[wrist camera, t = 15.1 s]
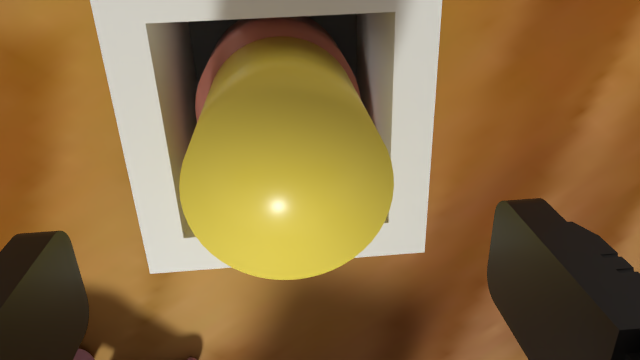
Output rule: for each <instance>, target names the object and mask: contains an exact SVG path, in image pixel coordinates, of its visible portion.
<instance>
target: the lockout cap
mask: <svg viewBox="0 0 640 360" xmlns="http://www.w3.org/2000/svg"><path fill="white" fill-rule="evenodd" d="M393 190H394V173H393V168H392V162H391V159H390V156H389V153H388V150H387V148H386V146H385V144H384V142H383V140H382V138H381V136H380V134H379V133H378V131H377V129H376V127H375V125H374V123H373V121H372V120H371V118H370V116H369V114H368V112H367V110H366V108H365V107H364V105H363V103H362V101H361V99H360V97H359V95H358V93H357V92H356V90H355V88H354V86H353V84H352V82H351V80H350V79H349V77H348V75H347V73H346V71H345V70H344V68H343V67H342V66H341V64H340V63H339V62H338V61H337V60H336V59H335V58H334V57H333V56H332V55H331V54H330V53H329V52H327V51H326V50H325V49H323V48H321V47H320V46H318V45H316V44H314V43H312V42H309V41H307V40H303V39H300V38H295V37H289V36H275V37H267V38H263V39H259V40H256V41H254V42H251V43H249V44H247V45H245V46H243V47H242V48H240V49H238V50H237V51H236V52H234V53H233V54H232V55H231V56H230V57H229V58H228V59H227V60H226V61H225V62H224V63H223V65H222V66H221V67H220V69H219V70H218V72H217V74H216V75H215V77H214V79H213V82H212V85H211V87H210V90H209V93H208V95H207V98H206V101H205V103H204V106H203V109H202V111H201V114H200V117H199V119H198V122H197V125H196V127H195V130H194V133H193V135H192V138H191V141H190V143H189V146H188V149H187V151H186V154H185V157H184V160H183V162H182V167H181V172H180V181H179V192H180V201H181V205H182V209H183V213H184V215H185V218H186V220H187V223H188V225H189V227H190V228H191V230H192V232H193V233H194V235H195V236H196V238H197V239H198V240H199V241H200V243H201V244H202V245H203V246H204V247H205V248H206V249H207V250H208V251H209V252H210V253H211V254H212V255H214V256H215V257H216V258H218V259H219V260H220V261H222V262H223V263H225V264H227V265H229V266H230V267H232V268H234V269H236V270H239V271H241V272H243V273H246V274H250V275H253V276H256V277H261V278H267V279H276V280H295V279H302V278H309V277H313V276H317V275H320V274H323V273H326V272H329V271H332V270H334V269H336V268H338V267H340V266H342V265H344V264H345V263H347V262H348V261H350V260H351V259H353V258H354V257H355V256H357V255H358V254H359V253H360V252H362V251H363V250H364V249H365V248H366V247H367V246H368V245H369V244H370V243H371V242H372V240H373V239H374V238H375V236H376V235H377V234H378V232H379V231H380V229H381V227H382V226H383V224H384V222H385V220H386V218H387V215H388V213H389V210H390V207H391V203H392V199H393Z"/></svg>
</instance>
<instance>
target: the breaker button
mask: <svg viewBox="0 0 640 360" xmlns="http://www.w3.org/2000/svg"><path fill="white" fill-rule="evenodd" d="M275 36H289V37H295V38H300V39H303V40H307V41H309V42H312V43H314V44H316V45H318V46H320V47H321V48H323V49H325V50H326V51H327V52H329V53H330V54H331V55H332V56H333V57H334V58H335V59H336V60H337V61H338V62H339V63H340V64H341V66H342V67H343V68H344V70H345V71H346V73H347V75H348V77H349V79H350V80H351V82H352V84H353V86H354V88H355V90H356V92H357V93H358V95H359V97H360V92H359V87H358V84H357V81H356V78H355V76H354V74H353V72H352V70H351V68H350V66H349V64H348V63H347V61H346V59H345V58H344V56H343V54H342V53H341V51H340V49H339V48H338V46H337V44H336V43H335V41H334V40H333V38H332V37H331V35H330V34H329V33H328V32H327V31H326V30H325V29H324V28H323V27H322V26H321V25H319V24H318V23H317V22H315V21H314V20H312V19H310V18H309V17H307V16H297V17H275V18H254V19H240V20H238V21H237V22H236V23H234V24H233V25H232V26H230V27H229V28H228V29H227V30H226V31H225V33H224V34H223V35H222V36H221V38H220V39H219V40H218V42H217V44H216V46H215V48H214V50H213V52H212V54H211V56H210V58H209V60H208V63H207V65H206V67H205V69H204V71H203V73H202V76H201V78H200V81H199V84H198V88H197V93H196V101H195V111H196V119H197V122H198V119H199V117H200V114H201V111H202V109H203V106H204V103H205V101H206V98H207V95H208V93H209V90H210V87H211V85H212V82H213V79H214V77H215V75H216V74H217V72H218V70H219V69H220V67H221V66H222V65H223V63H224V62H225V61H226V60H227V59H228V58H229V57H230V56H231V55H232V54H233V53H234V52H236V51H237V50H238V49H240V48H242V47H243V46H245V45H247V44H249V43H251V42H254V41H256V40H259V39H263V38H267V37H275ZM360 99H361V97H360Z"/></svg>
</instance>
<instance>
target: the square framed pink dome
mask: <svg viewBox="0 0 640 360" xmlns="http://www.w3.org/2000/svg"><path fill="white" fill-rule="evenodd" d="M90 3H91V7H92V12H93V16H94V21H95V25H96V30H97V34H98V39H99V43H100V48H101V52H102V57H103V62H104V66H105V71H106V75H107V80H108V84H109V89H110V93H111V98H112V102H113V107H114V111H115V116H116V121H117V125H118V130H119V134H120V139H121V143H122V148H123V152H124V157H125V161H126V166H127V171H128V175H129V180H130V184H131V189H132V193H133V198H134V202H135V207H136V211H137V216H138V220H139V225H140V230H141V234H142V239H143V243H144V248H145V252H146V257H147V261H148V266H149V270H150V274H153V273H166V272H179V271H191V270H204V269H217V268H230V266H229V265H227V264H225V263H223V262H222V261H220V260H219V259H218V258H216V257H215V256H214V255H212V254H211V253H210V252H209V251H208V250H207V249H206V248H205V247H204V246H203V245H202V244H201V243H200V241H199V240H198V239H197V238H196V236H195V235H194V233H193V232H192V230H191V228H190V227H189V225H188V223H187V220H186V218H185V215H184V213H183V209H182V205H181V201H180V192H179V181H180V172H181V167H182V162H183V160H184V157H185V154H186V151H187V149H188V146H189V143H190V141H191V138H192V135H193V133H194V130H195V127H196V125H197V119H196V111H195V101H196V93H197V88H198V84H199V81H200V78H201V76H202V73H203V71H204V69H205V67H206V65H207V63H208V60H209V58H210V56H211V54H212V52H213V50H214V48H215V46H216V44H217V42H218V40H219V39H220V38H221V36H222V35H223V34H224V33H225V31H226V30H227V29H228V28H229V27H230V26H232V25H233V24H234V23H236V22H237V21H238V20H240V19H254V18H275V17H297V16H307V17H309V18H310V19H312V20H314V21H315V22H317V23H318V24H319V25H321V26H322V27H323V28H324V29H325V30H326V31H327V32H328V33H329V34H330V35H331V37H332V38H333V40H334V41H335V43H336V44H337V46H338V48H339V49H340V51H341V53H342V54H343V56H344V58H345V59H346V61H347V63H348V64H349V66H350V68H351V70H352V72H353V74H354V76H355V78H356V81H357V84H358V87H359V92H360V97H361V101H362V103H363V105H364V107H365V108H366V110H367V112H368V114H369V116H370V118H371V120H372V121H373V123H374V125H375V127H376V129H377V131H378V133H379V134H380V136H381V138H382V140H383V142H384V144H385V146H386V148H387V150H388V153H389V156H390V159H391V162H392V168H393V173H394V190H393V199H392V203H391V207H390V210H389V213H388V215H387V218H386V220H385V222H384V224H383V226H382V227H381V229H380V231H379V232H378V234H377V235H376V236H375V238H374V239H373V240H372V242H371V243H370V244H369V245H368V246H367V247H366V248H365V249H364V250H363V251H362V252H360V253H359V254H358V255H357V256H355V257H354V258H357V257H370V256H382V255H395V254H408V253H420V252H424V251H425V237H426V223H427V209H428V194H429V180H430V166H431V152H432V138H433V124H434V109H435V95H436V81H437V67H438V53H439V38H440V24H441V10H442V0H90Z"/></svg>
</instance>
